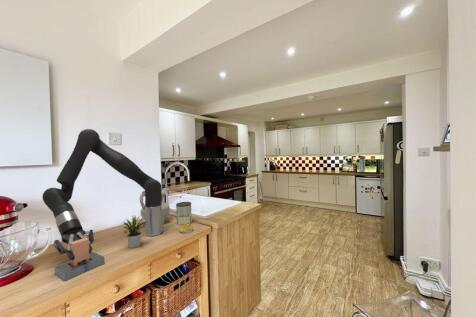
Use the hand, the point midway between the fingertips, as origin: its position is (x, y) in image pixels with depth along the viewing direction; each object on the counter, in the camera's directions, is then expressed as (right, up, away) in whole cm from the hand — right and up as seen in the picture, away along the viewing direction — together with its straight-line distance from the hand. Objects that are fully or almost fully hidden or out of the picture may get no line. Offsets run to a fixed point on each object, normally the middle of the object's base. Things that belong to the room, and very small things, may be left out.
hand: (82, 255), depth 83 cm
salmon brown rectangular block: (-1, -5, +1) cm, 5 cm away
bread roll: (+33, -5, +41) cm, 53 cm away
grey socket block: (-1, -6, +1) cm, 6 cm away
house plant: (+11, -5, +20) cm, 24 cm away
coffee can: (+28, -5, +55) cm, 62 cm away
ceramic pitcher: (+6, -5, +58) cm, 58 cm away
